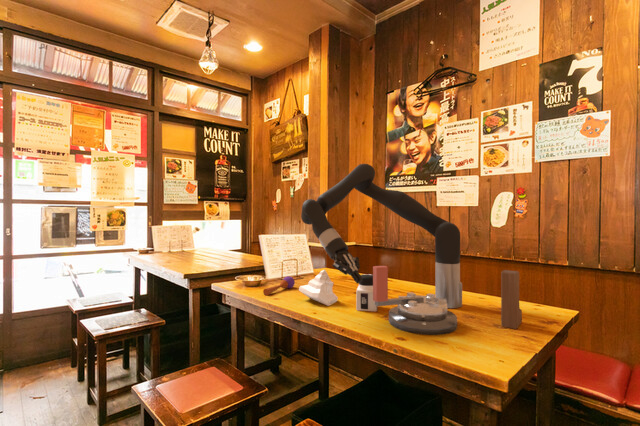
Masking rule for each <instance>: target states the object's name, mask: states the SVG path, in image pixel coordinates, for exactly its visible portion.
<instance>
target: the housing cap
mask: <svg viewBox="0 0 640 426" xmlns="http://www.w3.org/2000/svg"><path fill="white" fill-rule="evenodd" d="M388 323H389V324H390V325H391V326H392V327H393V328H395V329H398V330H400V331H403V332H406V333H411V334H416V335H425V336H437V335H438V336H439V335H447V334H452V333H454V332H455V331H456V330H457V329H458V317H457V314H455V313H454V312H452V311H450V310H448V309H447V317H446V318H445V319H442V320H437V321H421V320H414V319H409V318H406V317H403V316H401V315H400V314H399V313H398V305H397V306H393V307H392V308H390V309H389V310H388Z"/></svg>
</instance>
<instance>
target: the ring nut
mask: <svg viewBox="0 0 640 426" xmlns="http://www.w3.org/2000/svg"><path fill="white" fill-rule="evenodd" d="M388 271H389V267H388V266H386V265H375V266H374V265H373V266H372V275H373V300H374V301H375V305H376V306H377V307H384V306H394V305H397V306H398V313H399V314H400V315H401V316H403V317H406V318H409V319H414V320H421V321H437V320H442V319H445V318H446V317H447V310H448V308H447V300H446V298H435V294H434V293H430V292H429V293H427V294H426V295H417V294H416V293H415V292H412V291H411V292H406V295H398V297H395V298H389V296H388V295H389V289H388V288H389V281H388V280H389V279H388V278H389V276H388V275H389V272H388Z"/></svg>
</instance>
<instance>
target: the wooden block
mask: <svg viewBox="0 0 640 426" xmlns="http://www.w3.org/2000/svg"><path fill="white" fill-rule="evenodd" d="M500 273H501V274H500V275H501V276H500V277H501V278H500V280H501V281H500V282H501V285H500V288H501V290H500V292H501V293H500V294H501V295H500V298H501V299H500V300H501V301H500V302H501V303H500V307H501V308H500V314H501V316H500V318H501V319H500V323H501V327H502V328H507V329H514V330H517V329H518V328H519V327H520V325H521V324H522V319H523V318H522V316H523V314H522V313H523V311H522V309H521V307H520V272H519V271H518V270H509V269H504V270H502V271H501V272H500Z"/></svg>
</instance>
